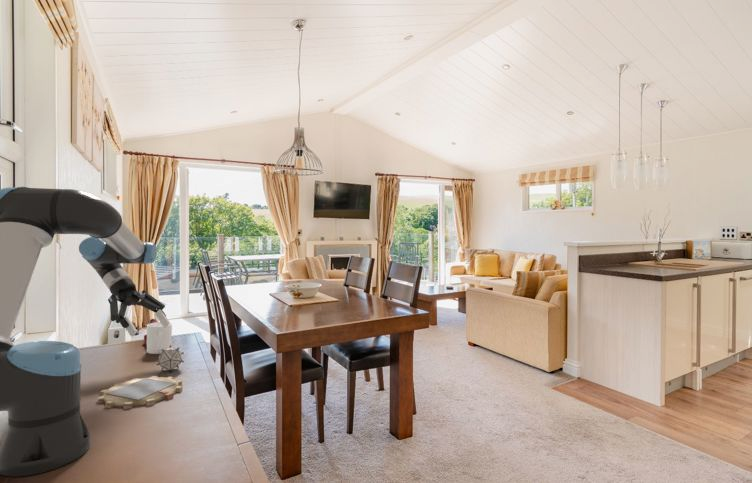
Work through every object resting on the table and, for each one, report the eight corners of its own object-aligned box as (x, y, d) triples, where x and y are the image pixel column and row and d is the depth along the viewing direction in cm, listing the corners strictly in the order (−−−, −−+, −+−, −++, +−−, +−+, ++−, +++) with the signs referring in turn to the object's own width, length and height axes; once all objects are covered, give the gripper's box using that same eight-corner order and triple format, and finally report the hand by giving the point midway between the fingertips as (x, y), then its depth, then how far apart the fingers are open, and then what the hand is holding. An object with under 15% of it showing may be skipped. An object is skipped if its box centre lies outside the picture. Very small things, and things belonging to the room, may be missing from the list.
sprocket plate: (137, 414, 104) (137, 408, 104) (79, 401, 111) (79, 396, 111) (198, 385, 125) (198, 380, 125) (145, 376, 131) (145, 371, 131)
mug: (145, 358, 150) (145, 329, 150) (147, 349, 160) (147, 322, 160) (171, 355, 154) (171, 327, 153) (171, 347, 164) (171, 321, 164)
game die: (176, 380, 138) (194, 357, 138) (153, 378, 131) (171, 354, 131) (169, 362, 144) (185, 340, 143) (146, 359, 137) (164, 336, 136)
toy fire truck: (160, 340, 175) (161, 316, 175) (167, 346, 166) (167, 321, 165) (142, 342, 171) (142, 318, 171) (148, 349, 161) (148, 323, 161)
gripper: (144, 286, 158) (173, 328, 153) (79, 295, 134) (112, 345, 130) (154, 274, 156) (185, 315, 152) (91, 280, 132) (124, 330, 128)
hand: (151, 329), depth 141 cm, fingers open, 13 cm apart
